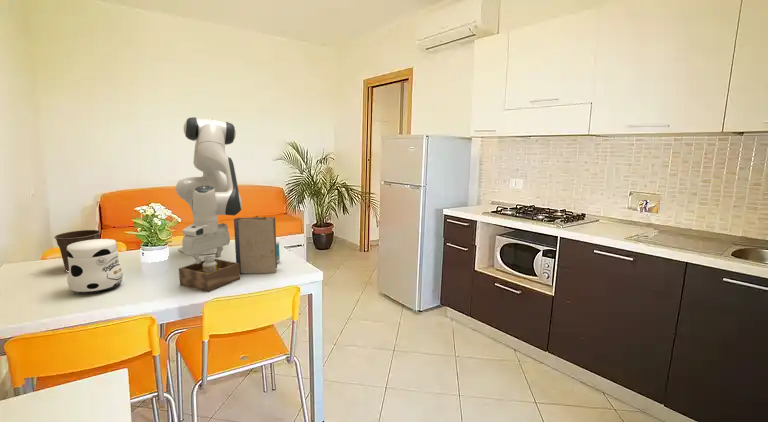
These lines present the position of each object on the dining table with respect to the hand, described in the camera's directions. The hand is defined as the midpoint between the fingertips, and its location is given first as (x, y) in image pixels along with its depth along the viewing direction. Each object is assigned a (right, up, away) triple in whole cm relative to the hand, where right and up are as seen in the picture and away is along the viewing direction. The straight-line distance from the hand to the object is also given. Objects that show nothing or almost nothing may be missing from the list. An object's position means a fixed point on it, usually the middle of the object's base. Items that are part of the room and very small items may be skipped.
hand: (208, 260), depth 161 cm
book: (+15, -7, +15) cm, 23 cm away
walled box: (0, -9, +1) cm, 9 cm away
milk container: (-40, -10, -7) cm, 42 cm away
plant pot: (-63, -6, +16) cm, 66 cm away
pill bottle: (+18, -5, +28) cm, 34 cm away
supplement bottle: (+1, -8, +1) cm, 9 cm away
